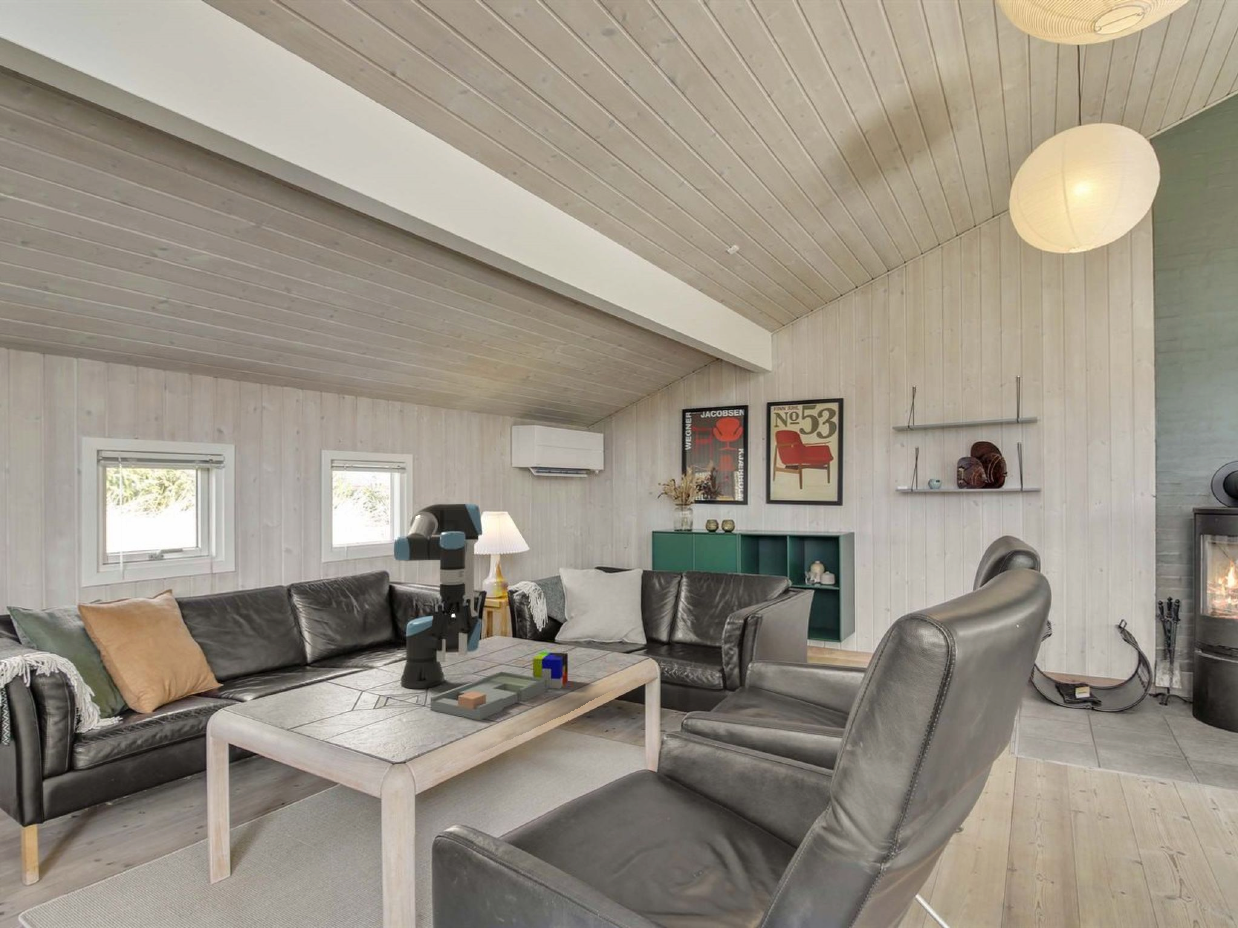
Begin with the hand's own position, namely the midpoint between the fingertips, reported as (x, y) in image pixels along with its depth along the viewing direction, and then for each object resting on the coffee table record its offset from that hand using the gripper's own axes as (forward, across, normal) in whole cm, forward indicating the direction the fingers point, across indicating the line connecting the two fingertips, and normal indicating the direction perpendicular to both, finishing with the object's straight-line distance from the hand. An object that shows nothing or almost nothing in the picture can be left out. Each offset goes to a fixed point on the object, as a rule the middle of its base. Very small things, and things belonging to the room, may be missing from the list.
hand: (452, 657), depth 209 cm
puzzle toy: (+20, +49, -2) cm, 53 cm away
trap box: (+19, +23, +4) cm, 30 cm away
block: (+16, +9, 0) cm, 19 cm away
